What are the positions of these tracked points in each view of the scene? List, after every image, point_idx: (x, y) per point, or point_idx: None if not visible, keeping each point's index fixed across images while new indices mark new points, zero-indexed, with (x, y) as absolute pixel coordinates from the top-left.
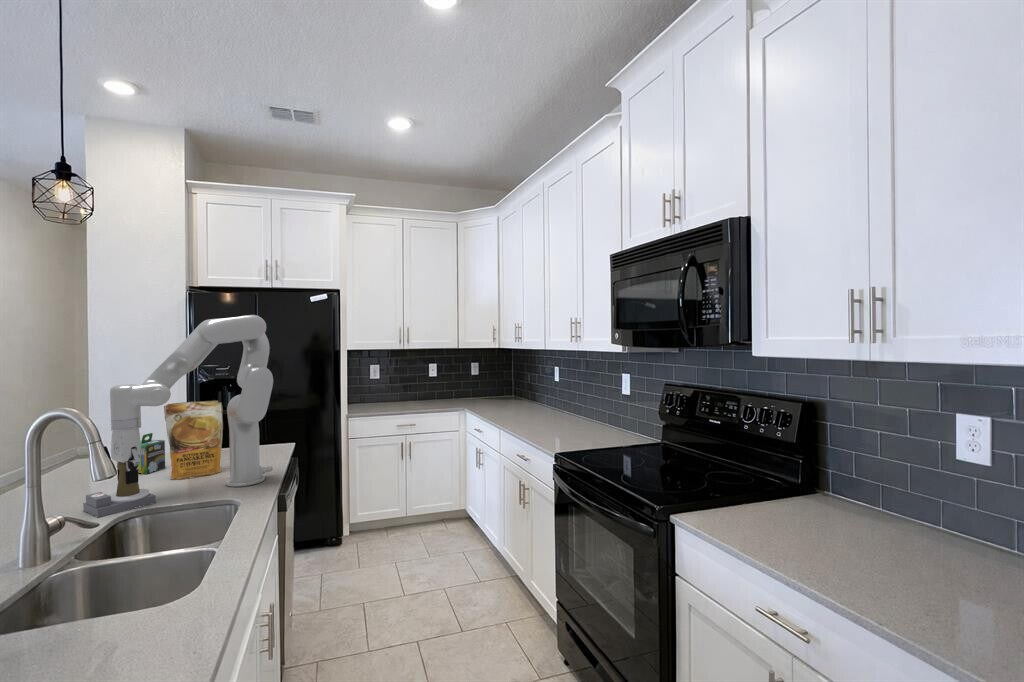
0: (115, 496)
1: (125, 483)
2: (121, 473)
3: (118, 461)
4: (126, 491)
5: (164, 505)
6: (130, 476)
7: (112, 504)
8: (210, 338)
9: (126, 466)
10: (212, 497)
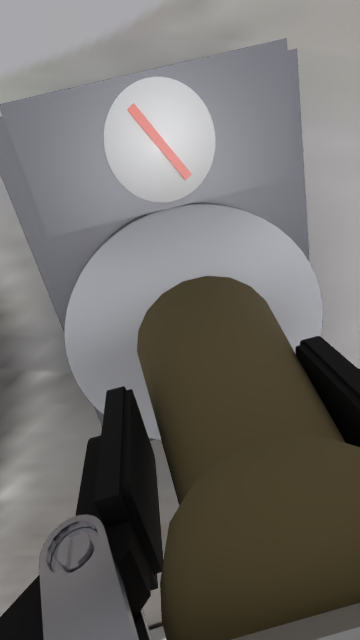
0: (198, 270)
1: (157, 381)
2: (218, 425)
3: (297, 623)
4: (143, 348)
5: (30, 446)
6: (85, 475)
7: (68, 234)
8: None
9: (104, 592)
10: (26, 586)
